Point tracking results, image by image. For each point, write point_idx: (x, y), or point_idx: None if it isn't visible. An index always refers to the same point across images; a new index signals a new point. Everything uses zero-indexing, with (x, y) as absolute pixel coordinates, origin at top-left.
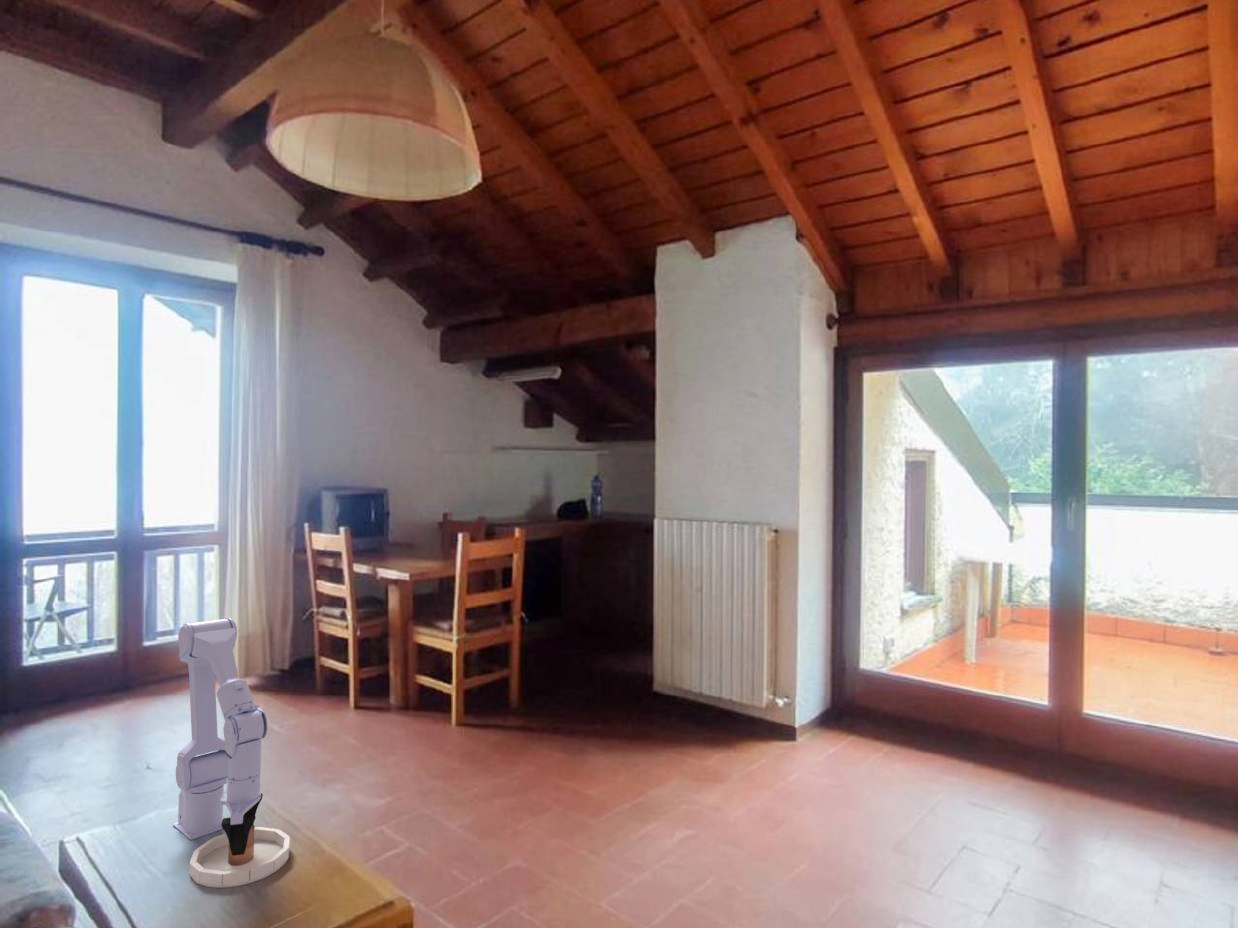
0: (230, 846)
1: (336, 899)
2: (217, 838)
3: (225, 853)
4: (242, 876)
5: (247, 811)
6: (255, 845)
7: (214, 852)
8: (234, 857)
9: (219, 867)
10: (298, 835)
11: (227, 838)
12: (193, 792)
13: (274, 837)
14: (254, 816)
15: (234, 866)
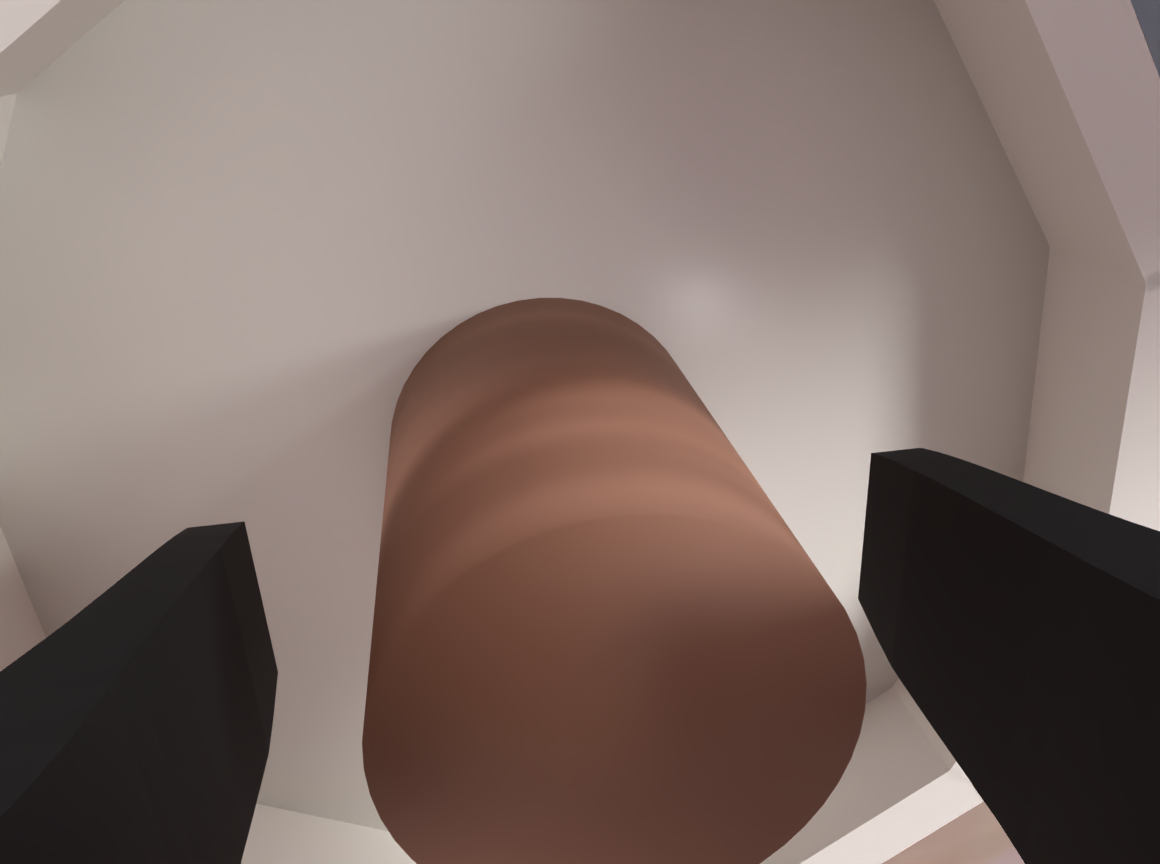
0: (91, 610)
1: None
2: (1054, 39)
3: (771, 199)
4: None
5: (1131, 854)
6: (860, 520)
7: (849, 24)
8: (394, 452)
9: (373, 221)
10: (987, 808)
11: (1069, 177)
12: None
13: (912, 712)
14: (1020, 854)
15: (373, 413)
